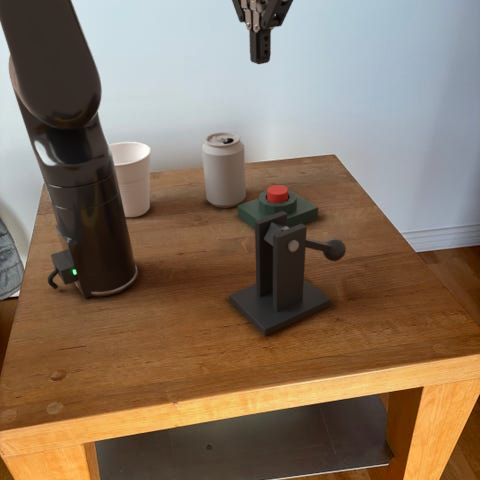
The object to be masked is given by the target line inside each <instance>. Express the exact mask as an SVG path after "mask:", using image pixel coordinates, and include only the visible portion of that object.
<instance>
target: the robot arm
mask: <svg viewBox="0 0 480 480" xmlns="http://www.w3.org/2000/svg"><path fill="white" fill-rule="evenodd" d="M231 2H232V5H233V8H234V10H235V14H236V16H237V19H238V21H239V23H240V24H241V23H244V24H245V27H246V30H247V31H248V33H249V35H248V37H249V55H250V56H249V59H250V62H251V63H253V64H256V65H262V64H267V63H269V62H270V60H271V55H272V52H271V49H272V46H271V45H272V35H271V34H272V31H273V30H274V28H278V27H281V26H283V23H284V22H285V19H286V17H287V15H288V13H289V10H290V9H291V7H292V4H293V2H294V0H231ZM0 26H1V29H2V32H3V35H4V36H3V37H4V39H5V41H6V45H7V48H8V52H9V57H8V74H9V79H10V82H11V87H12V91H13V94H14V96H15V99H16V102H17V105H18V108H19V111H20V115H21V118H22V121H23V124H24V126H25V130H26V133H27V137H28V139H29V142H30V143H29V144H30V146H31V148H32V151H33V155H34V156H35V158H36V159H35V160H36V161H37V165H38V168H39V170H40V173H41V176H42V179H43V183H44V186H45V188H46V192H47V195H48V197H49V202H50V205H51V207H52V211H53V214H54V218H55V220H56V224H55V230H56V233H57V237H58V239H59V243H60V246H61V249H62V250H61V251H58V252H54V253H51V254H50V258H51V262H52V264H53V267H54V269H53V271H52V272H51V273H49V275H48V276H47V284H48V285H49V286H50V287H52V288H53V289H54V290H57V289H58V288H59V285H58V284H57V283H56V282H54V278H55V277H56V276H57V275H58V276H59V277H60V279H61V281H62V282H63V284H64V285H65V286H67V285H70V284H73V283H74V284H75V287H76V289H77V290H78V291H79V292H80V294H81V295H82V297H83V298H84V299H88V298H91V297H97V298H98V297H109V296H113V295H117V294H120V293H122V292H124V291H126V290H127V289H129V288H130V287H132V286H133V285H134V284H135V282H136V281H137V279H138V276H139V271H138V268H137V264H136V259H135V255H134V252H133V251H134V250H133V247H132V242H131V236H130V231H129V227H128V222H127V217H125V213H124V208H123V203H122V198H121V194H120V189H119V184H118V179H117V174H116V170H115V165H114V160H113V155H112V151H111V148H110V146H109V145H110V144H109V143H110V142H109V141H108V138H107V136H106V134H105V130H104V127H103V125H102V122H101V118H100V115H99V114H100V113H99V110H100V107H101V103H102V97H103V80H102V76H101V73H100V70H99V67H98V65H97V62H96V59H95V57H94V55H93V53H92V49H91V47H90V45H89V42H88V40H87V38H86V34H85V33H84V30H83V27H82V23H81V22H80V20H79V17H78V14H77V12H76V9H75V6H74V4H73V1H72V0H0Z"/></svg>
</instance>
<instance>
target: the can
mask: <svg viewBox="0 0 480 480" xmlns="http://www.w3.org/2000/svg"><path fill="white" fill-rule="evenodd" d="M201 154H202V166H203V167H202V168H203V177H204V188H205V199H206V200H207V202H209V203H210V204H211V205H212V206H214V207H217V208H223V209H225V208H233V207H236V206H238V205H240V204H242V202H244V201H245V200H244V199H246V197H247V194H246V193H247V190H246V189H247V188H246V159H245V157H246V156H245V144H244V143H243V141H241V135H239V134H237V133H236V132H231V131H218V132H213V133H211V134H209V135H207V136H206V137H205V138H204V143H203V144H202V147H201Z"/></svg>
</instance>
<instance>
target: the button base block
mask: <svg viewBox="0 0 480 480" xmlns="http://www.w3.org/2000/svg"><path fill="white" fill-rule="evenodd" d="M282 211H284V212H285V213H287V227H288V228H292V227H294V226H297V225H300V224H303V225H304V224H307V223H309V222H312V221H315V220H318V218H319V207H318V206H317V205H315V204H314V203H312V202H310V201H309V200H307V199H306V198H304V197H303V196H301V195H299V194H298V193H295V192H294V191H292V190H291V189H289V188H288V200H287V201H285V202H282V203H274V202H269V201H268V200H267V190H263V191H262V192H261V193H260V194H259V195H258V197H257V198H256V199H252V200H249V201H247V202H243V203H240V204H238V205H237V217H238V218H239V219H241V220H242V221H243V222H245V223H246V224H247V225H249V226H250V227H251V228H253V229H254V230H255V221H256V220H259V219H262V218H265V217H268V216H270V215H273V214H276V213H279V212H282Z"/></svg>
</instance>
